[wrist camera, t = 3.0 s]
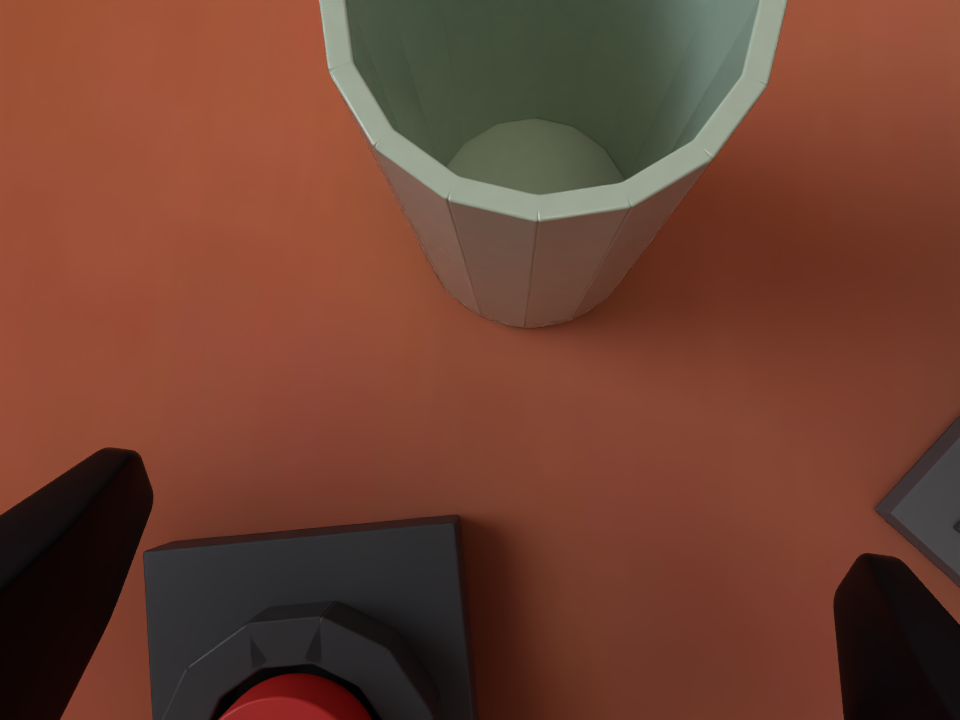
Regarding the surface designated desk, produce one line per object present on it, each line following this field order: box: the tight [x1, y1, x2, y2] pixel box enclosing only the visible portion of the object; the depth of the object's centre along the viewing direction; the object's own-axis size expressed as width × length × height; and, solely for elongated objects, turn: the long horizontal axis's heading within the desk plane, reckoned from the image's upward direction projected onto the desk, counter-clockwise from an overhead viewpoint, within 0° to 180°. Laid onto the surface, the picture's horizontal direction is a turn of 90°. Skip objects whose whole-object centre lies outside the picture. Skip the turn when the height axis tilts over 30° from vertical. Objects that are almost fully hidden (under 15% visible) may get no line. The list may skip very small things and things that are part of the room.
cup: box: [319, 0, 787, 328], centre depth 17 cm, size 7×7×12 cm
